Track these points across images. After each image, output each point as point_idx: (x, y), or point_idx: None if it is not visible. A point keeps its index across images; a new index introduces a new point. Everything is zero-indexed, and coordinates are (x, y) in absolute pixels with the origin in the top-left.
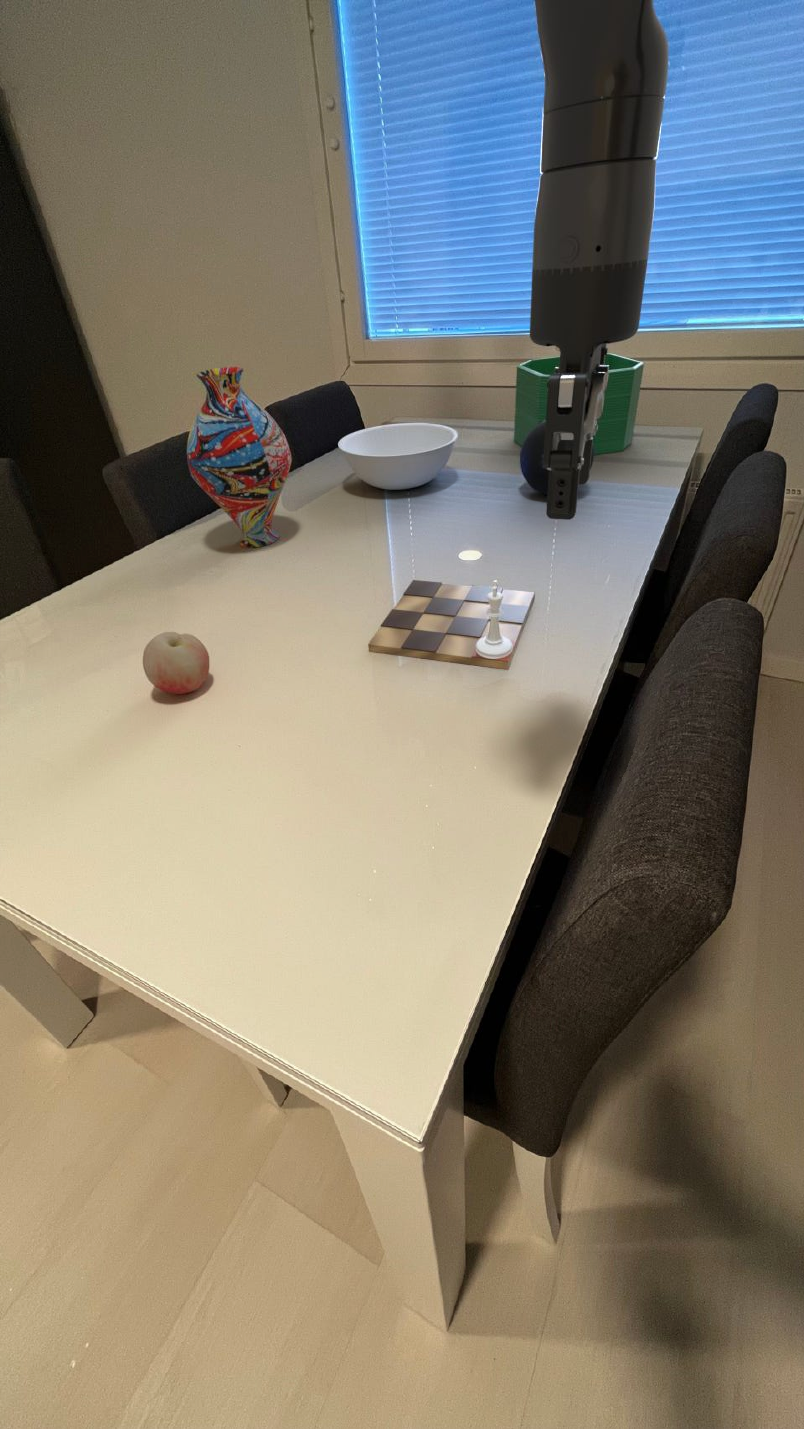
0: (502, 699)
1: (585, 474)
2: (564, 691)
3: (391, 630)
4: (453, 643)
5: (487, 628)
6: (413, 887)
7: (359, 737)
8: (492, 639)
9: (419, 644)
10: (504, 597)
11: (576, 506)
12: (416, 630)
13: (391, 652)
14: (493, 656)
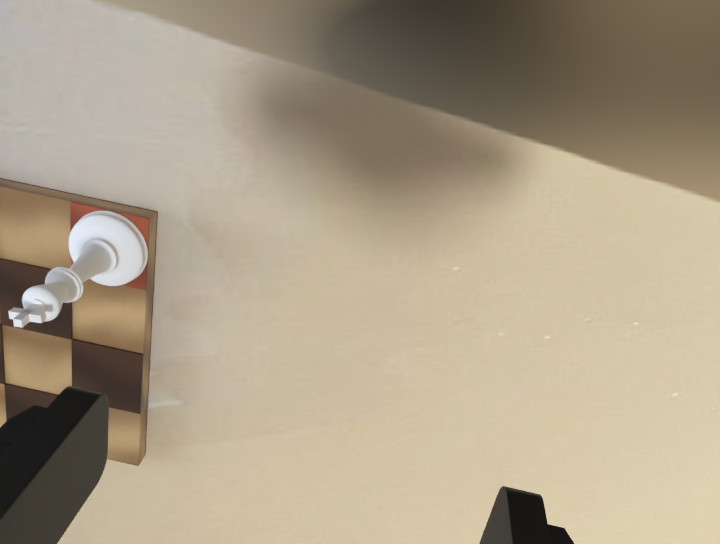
0: (258, 222)
1: (89, 422)
2: (213, 98)
3: None
4: (103, 323)
5: (31, 259)
6: (709, 344)
7: (388, 443)
8: (108, 263)
9: (123, 384)
10: None
11: (514, 509)
12: None
13: (145, 421)
14: (143, 250)
